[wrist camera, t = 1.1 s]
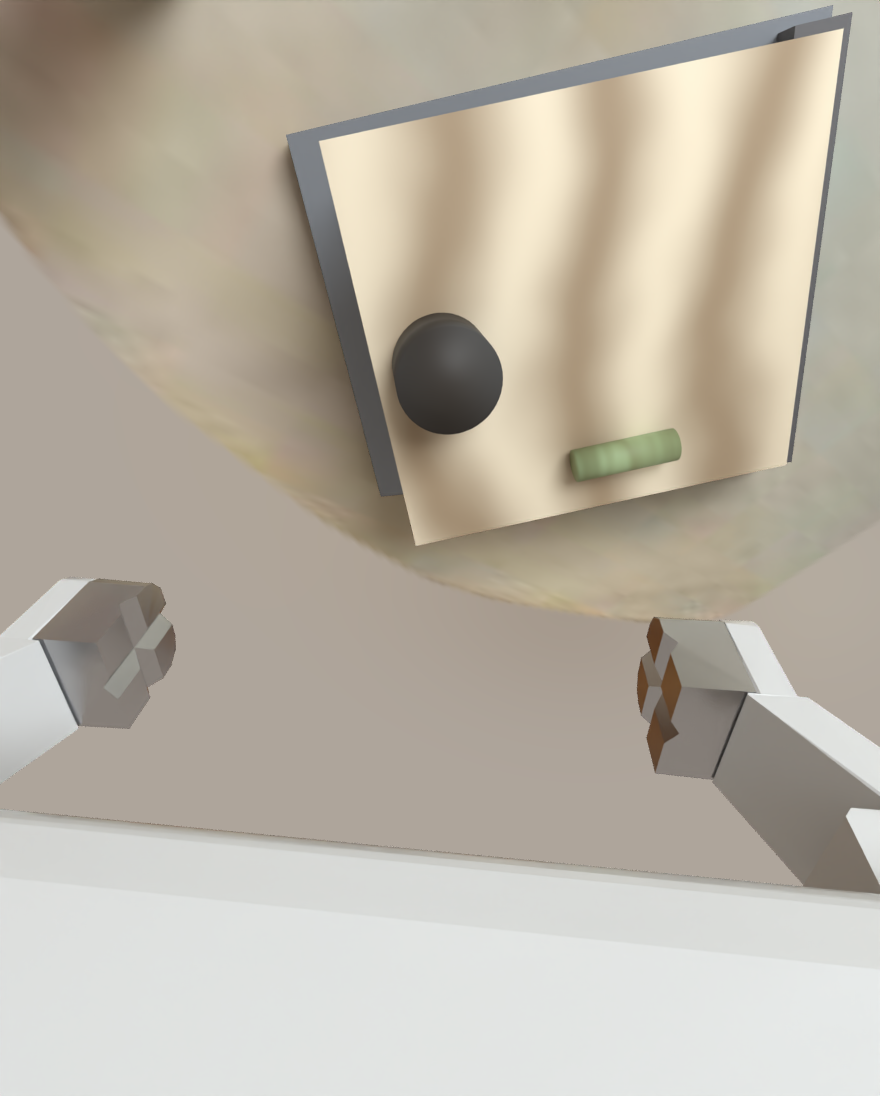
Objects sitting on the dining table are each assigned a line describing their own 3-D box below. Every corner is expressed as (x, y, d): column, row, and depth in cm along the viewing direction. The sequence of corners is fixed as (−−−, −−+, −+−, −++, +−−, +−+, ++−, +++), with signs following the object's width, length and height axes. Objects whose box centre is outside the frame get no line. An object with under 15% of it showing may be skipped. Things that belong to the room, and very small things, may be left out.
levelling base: (818, 11, 26) (854, -6, 23) (769, 444, 36) (790, 470, 34) (295, 135, 31) (271, 134, 28) (385, 485, 41) (374, 511, 38)
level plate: (822, 35, 24) (905, 8, 20) (773, 456, 33) (823, 489, 30) (320, 143, 24) (314, 135, 20) (414, 534, 33) (421, 577, 29)
